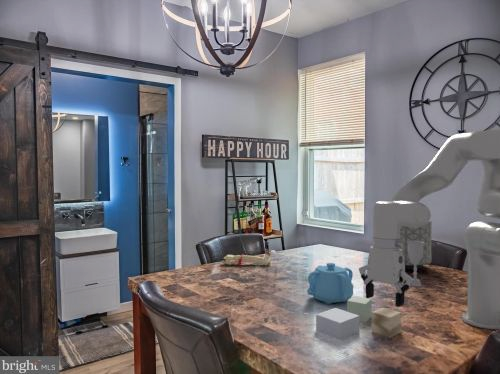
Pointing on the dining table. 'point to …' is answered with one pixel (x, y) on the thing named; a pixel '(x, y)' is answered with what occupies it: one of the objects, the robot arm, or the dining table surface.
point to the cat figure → (246, 259)
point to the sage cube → (360, 307)
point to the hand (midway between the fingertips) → (384, 301)
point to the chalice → (415, 257)
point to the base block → (337, 323)
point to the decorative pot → (331, 284)
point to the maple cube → (386, 322)
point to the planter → (416, 235)
